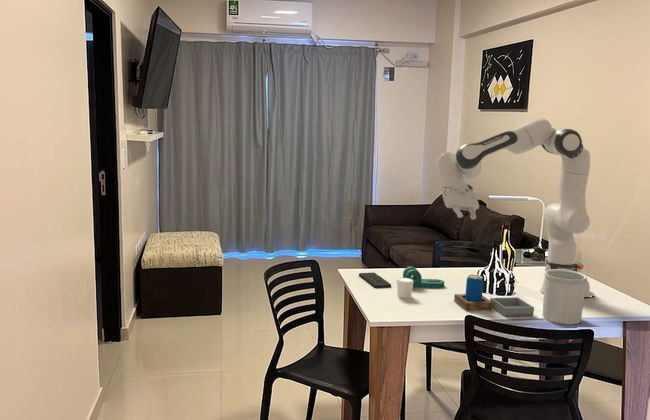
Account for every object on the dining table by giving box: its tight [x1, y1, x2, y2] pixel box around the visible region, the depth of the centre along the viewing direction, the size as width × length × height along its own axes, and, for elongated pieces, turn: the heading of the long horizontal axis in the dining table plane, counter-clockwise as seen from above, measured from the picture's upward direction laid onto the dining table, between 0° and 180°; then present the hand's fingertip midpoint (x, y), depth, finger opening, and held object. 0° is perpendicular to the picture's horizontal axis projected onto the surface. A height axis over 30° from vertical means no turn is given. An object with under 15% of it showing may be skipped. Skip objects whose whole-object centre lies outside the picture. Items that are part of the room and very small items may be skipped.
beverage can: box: [464, 274, 484, 302], centre depth 229 cm, size 6×6×12 cm
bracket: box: [402, 266, 445, 289], centre depth 254 cm, size 18×7×8 cm, turn 94°
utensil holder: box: [542, 269, 588, 325], centre depth 217 cm, size 15×15×18 cm
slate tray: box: [489, 296, 535, 318], centre depth 225 cm, size 12×12×4 cm
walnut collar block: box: [453, 293, 494, 312], centre depth 229 cm, size 11×11×3 cm
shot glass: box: [396, 277, 414, 299], centre depth 238 cm, size 7×7×7 cm
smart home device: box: [358, 272, 392, 289], centre depth 258 cm, size 8×2×20 cm
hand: (467, 218), depth 234 cm, fingers open, 8 cm apart
